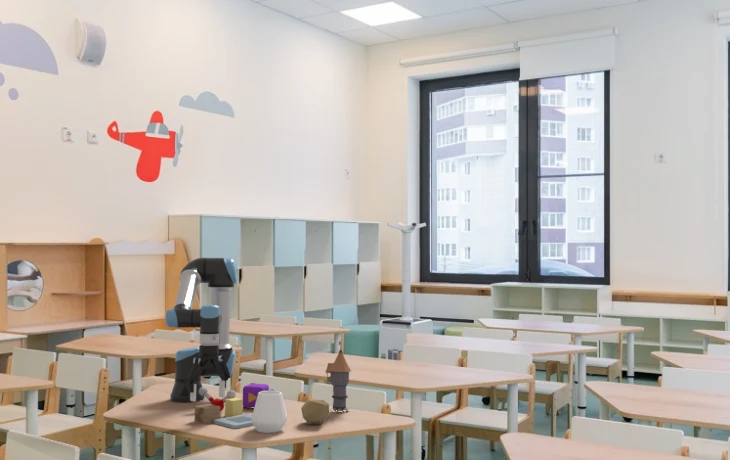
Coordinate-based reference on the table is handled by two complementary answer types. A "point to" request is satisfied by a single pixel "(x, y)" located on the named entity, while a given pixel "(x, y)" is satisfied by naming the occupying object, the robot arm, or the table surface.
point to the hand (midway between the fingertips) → (207, 398)
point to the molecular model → (217, 402)
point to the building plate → (235, 421)
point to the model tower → (339, 381)
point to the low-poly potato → (314, 411)
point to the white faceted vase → (269, 412)
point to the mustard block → (233, 407)
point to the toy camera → (253, 393)
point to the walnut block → (206, 413)
